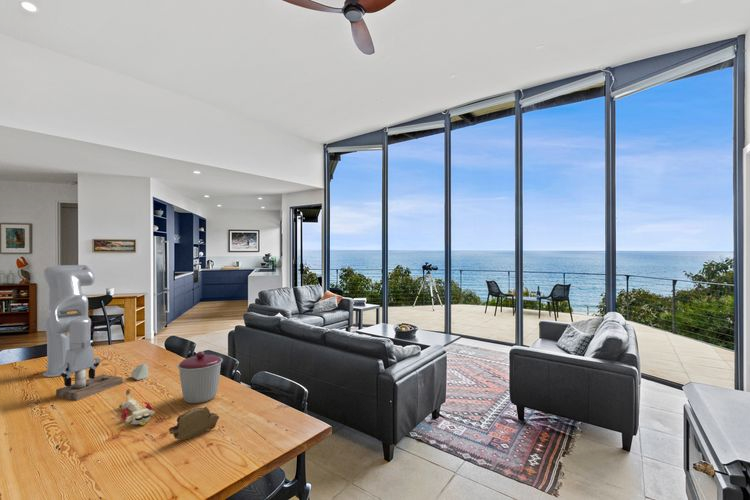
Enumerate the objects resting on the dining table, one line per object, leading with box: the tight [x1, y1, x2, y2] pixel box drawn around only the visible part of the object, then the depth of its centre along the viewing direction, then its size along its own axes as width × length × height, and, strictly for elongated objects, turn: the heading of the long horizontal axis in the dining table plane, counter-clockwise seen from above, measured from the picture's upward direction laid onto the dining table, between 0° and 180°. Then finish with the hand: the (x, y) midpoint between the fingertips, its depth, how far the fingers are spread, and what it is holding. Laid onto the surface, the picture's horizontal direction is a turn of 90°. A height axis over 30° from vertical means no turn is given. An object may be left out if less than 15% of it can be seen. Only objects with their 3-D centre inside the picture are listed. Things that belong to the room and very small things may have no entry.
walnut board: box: [55, 374, 123, 401], centre depth 162 cm, size 14×20×3 cm
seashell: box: [130, 363, 149, 381], centre depth 178 cm, size 8×8×8 cm
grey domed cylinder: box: [74, 369, 87, 390], centre depth 158 cm, size 4×4×12 cm
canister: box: [176, 351, 224, 404], centre depth 153 cm, size 18×18×21 cm
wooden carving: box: [168, 406, 220, 440], centre depth 122 cm, size 16×5×10 cm, turn 141°
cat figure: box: [118, 388, 156, 426], centre depth 137 cm, size 10×9×25 cm
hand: (80, 382), depth 158 cm, fingers open, 9 cm apart
